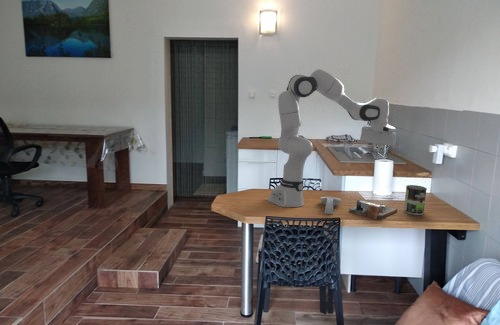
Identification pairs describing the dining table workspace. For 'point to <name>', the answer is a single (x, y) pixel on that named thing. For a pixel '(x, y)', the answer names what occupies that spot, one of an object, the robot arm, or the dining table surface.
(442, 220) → the dining table surface
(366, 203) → the latch bar
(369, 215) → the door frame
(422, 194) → the coffee can
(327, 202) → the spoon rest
